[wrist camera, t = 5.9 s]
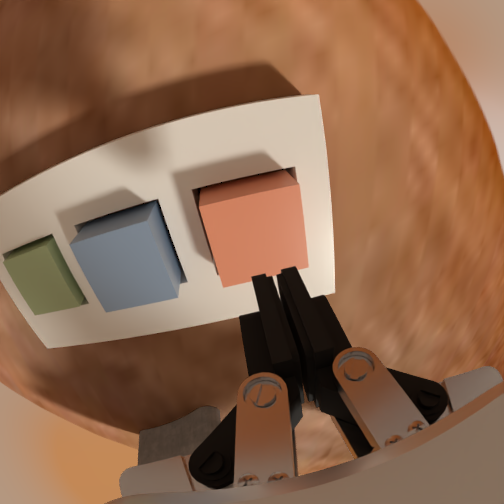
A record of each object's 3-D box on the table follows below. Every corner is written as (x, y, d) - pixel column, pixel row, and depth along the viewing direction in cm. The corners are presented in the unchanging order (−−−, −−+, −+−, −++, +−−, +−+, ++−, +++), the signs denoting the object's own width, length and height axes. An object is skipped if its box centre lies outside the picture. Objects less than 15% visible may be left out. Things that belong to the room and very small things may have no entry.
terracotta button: (284, 169, 17) (299, 184, 14) (295, 242, 20) (308, 267, 17) (200, 188, 17) (199, 206, 14) (220, 260, 19) (223, 288, 17)
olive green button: (64, 225, 18) (46, 245, 15) (92, 281, 20) (80, 306, 18) (21, 242, 18) (2, 262, 15) (48, 292, 20) (35, 315, 18)
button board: (302, 94, 16) (318, 94, 14) (322, 270, 24) (334, 292, 21) (-11, 201, 16) (-31, 216, 13) (57, 327, 23) (47, 348, 20)
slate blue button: (156, 200, 17) (147, 220, 14) (181, 269, 19) (178, 297, 17) (87, 222, 17) (69, 244, 14) (116, 284, 19) (106, 312, 17)
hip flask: (207, 403, 32) (223, 553, 15) (228, 413, 34) (249, 550, 17) (135, 432, 35) (133, 545, 18) (155, 440, 37) (158, 548, 20)
